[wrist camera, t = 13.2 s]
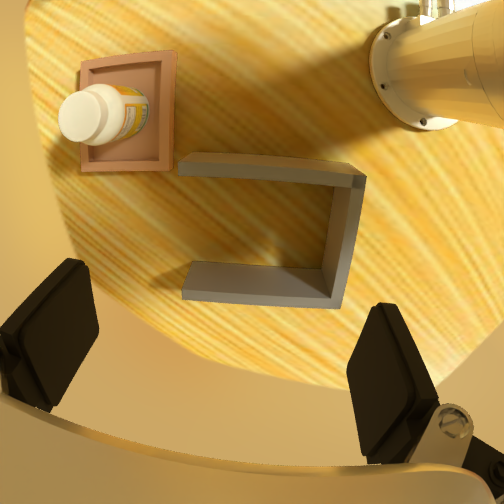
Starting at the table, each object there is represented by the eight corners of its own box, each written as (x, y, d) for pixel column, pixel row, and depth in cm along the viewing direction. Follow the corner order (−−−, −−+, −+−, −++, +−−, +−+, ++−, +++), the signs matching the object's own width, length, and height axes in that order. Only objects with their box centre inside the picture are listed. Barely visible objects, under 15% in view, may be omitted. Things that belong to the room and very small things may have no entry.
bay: (192, 151, 31) (178, 161, 25) (348, 163, 31) (366, 176, 25) (193, 270, 36) (182, 299, 31) (329, 279, 36) (340, 309, 31)
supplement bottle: (158, 123, 29) (119, 131, 20) (114, 146, 30) (65, 163, 21) (139, 77, 27) (94, 69, 18) (96, 101, 28) (43, 105, 19)
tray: (89, 62, 26) (81, 61, 25) (177, 52, 26) (172, 50, 25) (89, 168, 31) (81, 171, 30) (173, 167, 31) (168, 171, 30)
